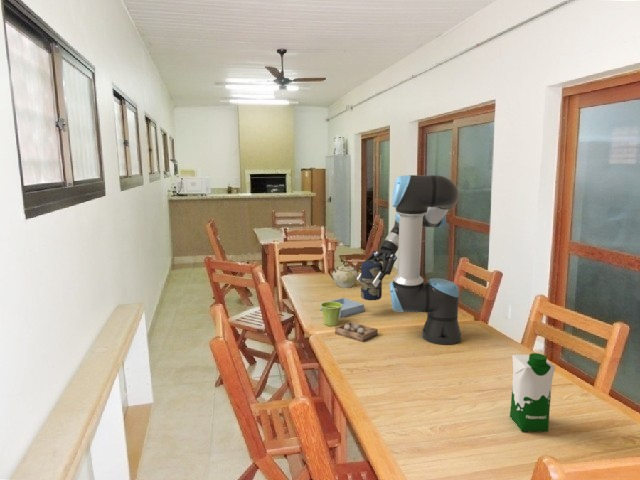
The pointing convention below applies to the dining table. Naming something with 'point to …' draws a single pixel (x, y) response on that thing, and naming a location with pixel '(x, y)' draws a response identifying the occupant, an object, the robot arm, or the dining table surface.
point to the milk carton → (531, 391)
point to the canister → (370, 280)
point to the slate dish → (348, 307)
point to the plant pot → (331, 312)
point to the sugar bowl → (345, 275)
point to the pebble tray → (356, 331)
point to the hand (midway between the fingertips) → (366, 282)
